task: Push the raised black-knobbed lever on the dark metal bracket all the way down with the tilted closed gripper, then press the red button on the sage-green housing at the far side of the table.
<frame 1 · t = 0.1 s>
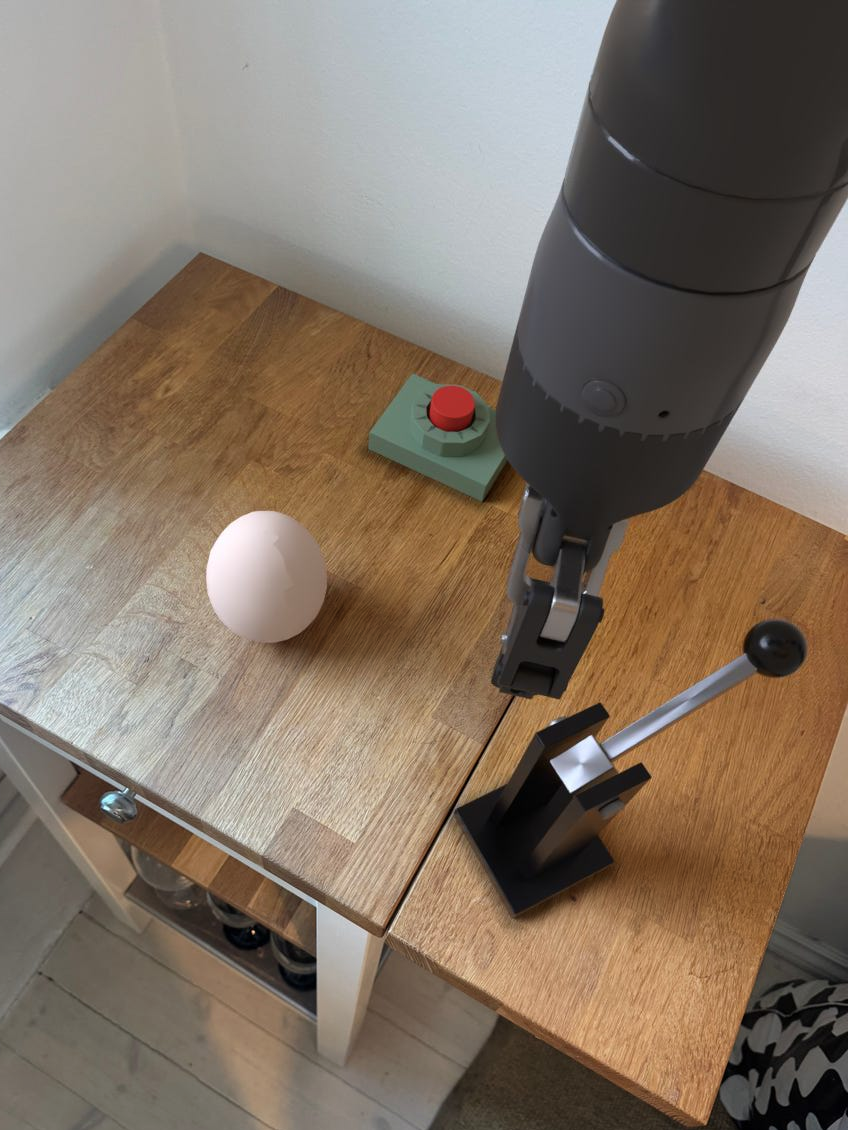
hand: (529, 605, 43), 26 cm above the table, tool pointing down, fingers open, 8 cm apart
button box: (444, 444, 81), on the table
egg: (269, 618, 72), on the table
lever: (679, 707, 51), point 17 cm above the table, hinge at 28.0°
bracket: (530, 840, 64), on the table
button: (451, 408, 77), point 4 cm above the table, slide at 0.1 cm
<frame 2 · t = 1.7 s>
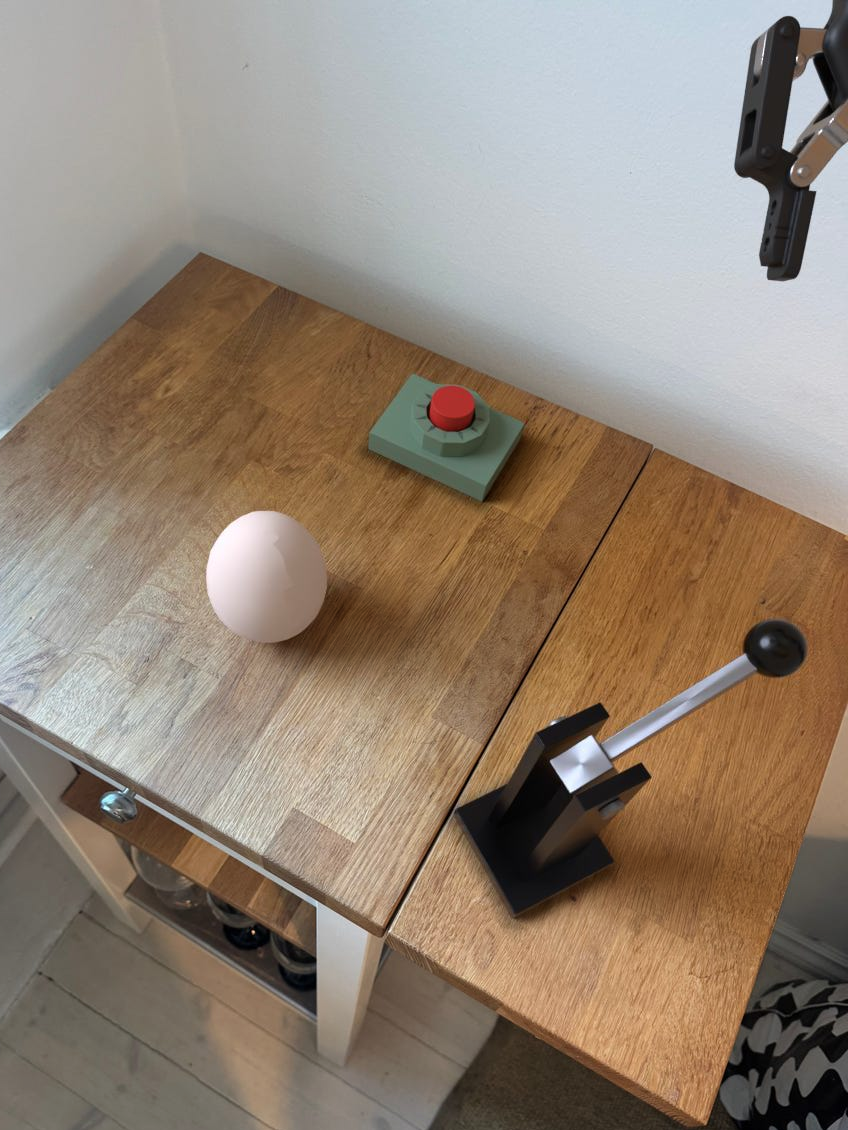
nothing on the table moved.
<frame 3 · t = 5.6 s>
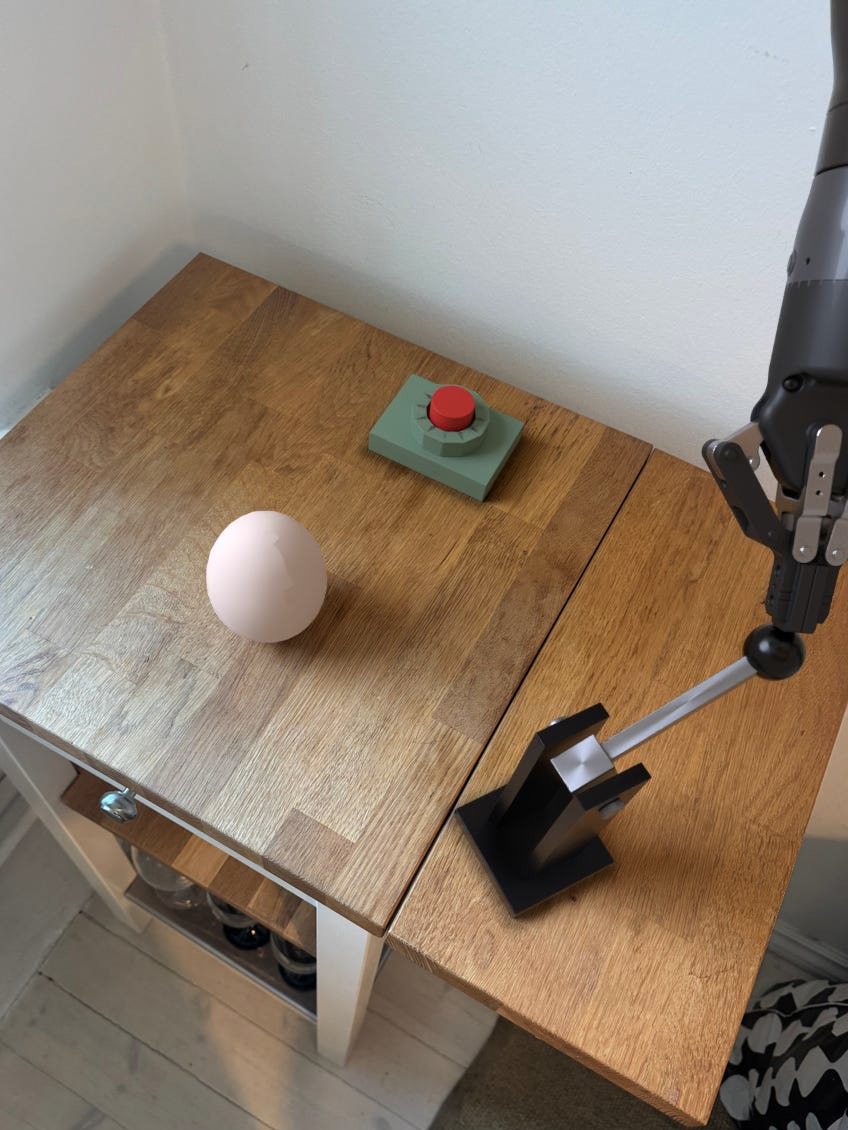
hand: (792, 629, 49), 21 cm above the table, tool tilted 45°, fingers closed
lever: (679, 709, 51), point 17 cm above the table, hinge at 24.5°, touching gripper
everything else where it was.
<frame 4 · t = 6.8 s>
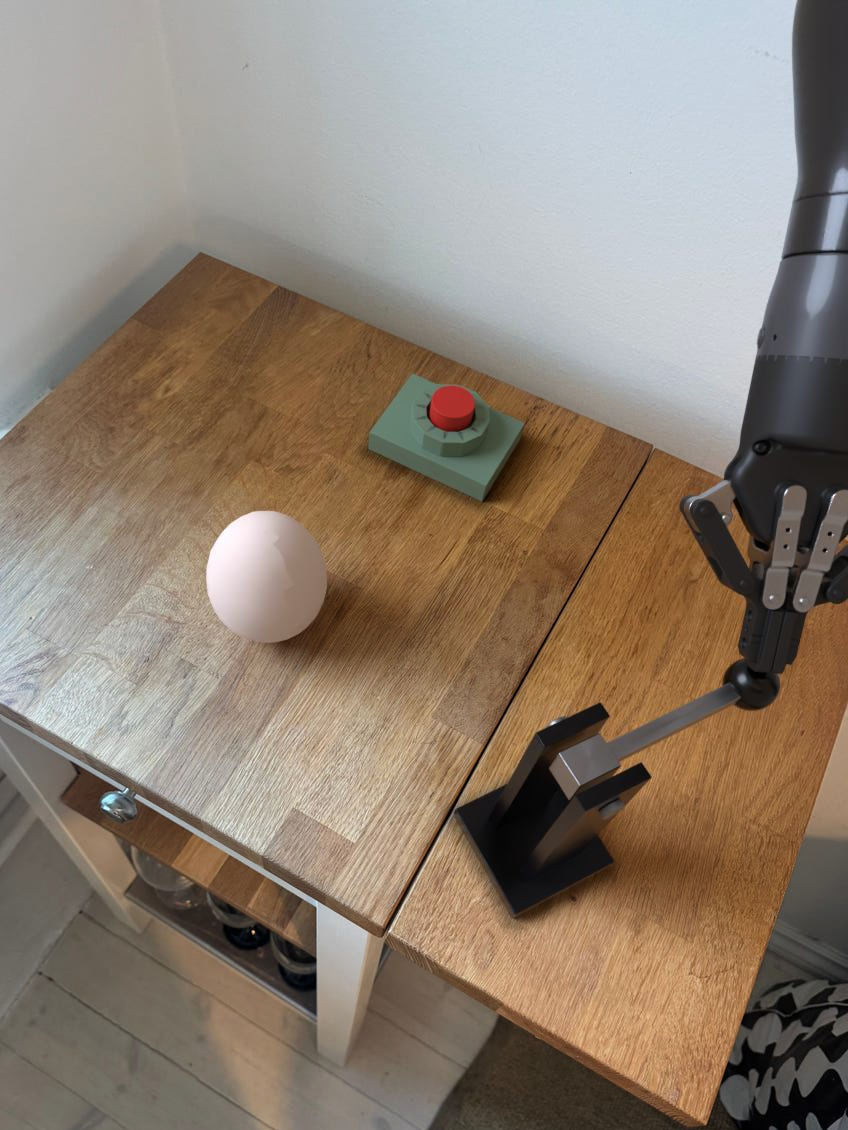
hand: (763, 668, 53), 16 cm above the table, tool tilted 45°, fingers closed
lever: (671, 723, 54), point 14 cm above the table, hinge at 0.2°, touching gripper
everything else where it was.
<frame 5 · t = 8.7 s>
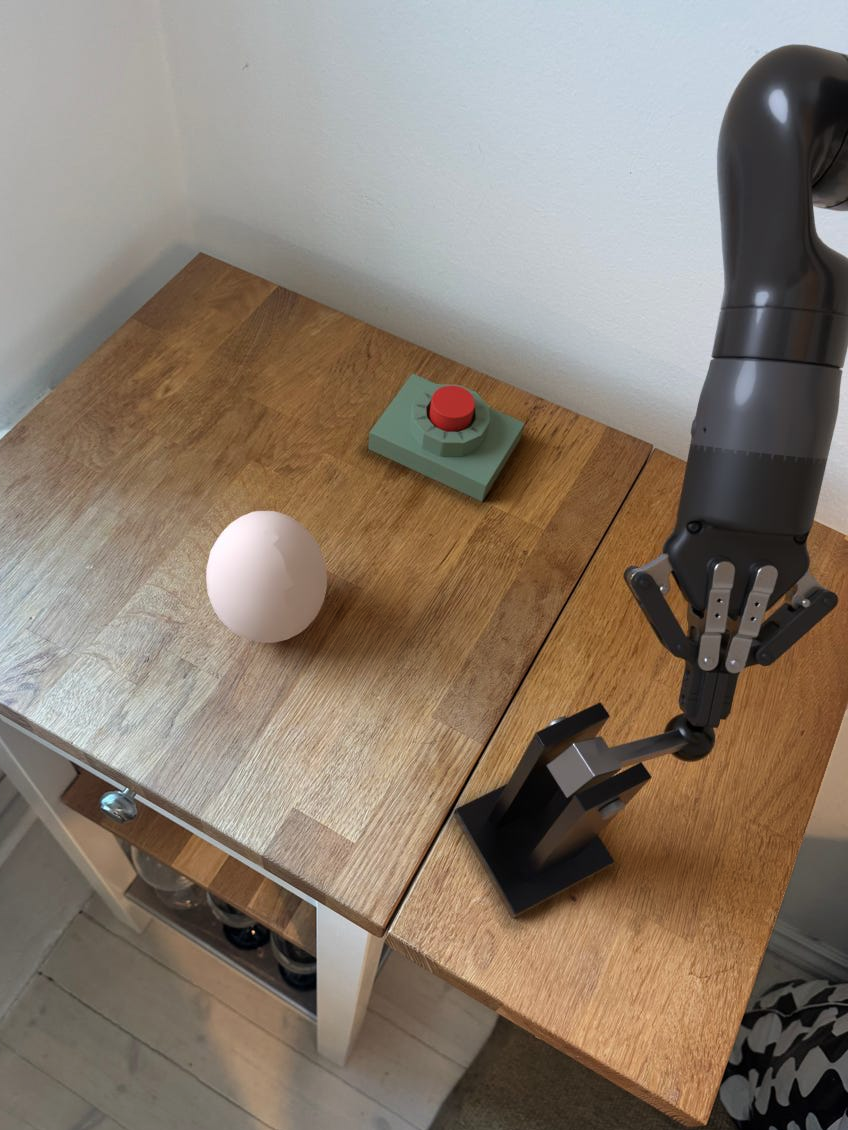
hand: (701, 722, 59), 10 cm above the table, tool tilted 45°, fingers closed
lever: (641, 750, 56), point 11 cm above the table, hinge at -31.3°, touching gripper
everything else where it was.
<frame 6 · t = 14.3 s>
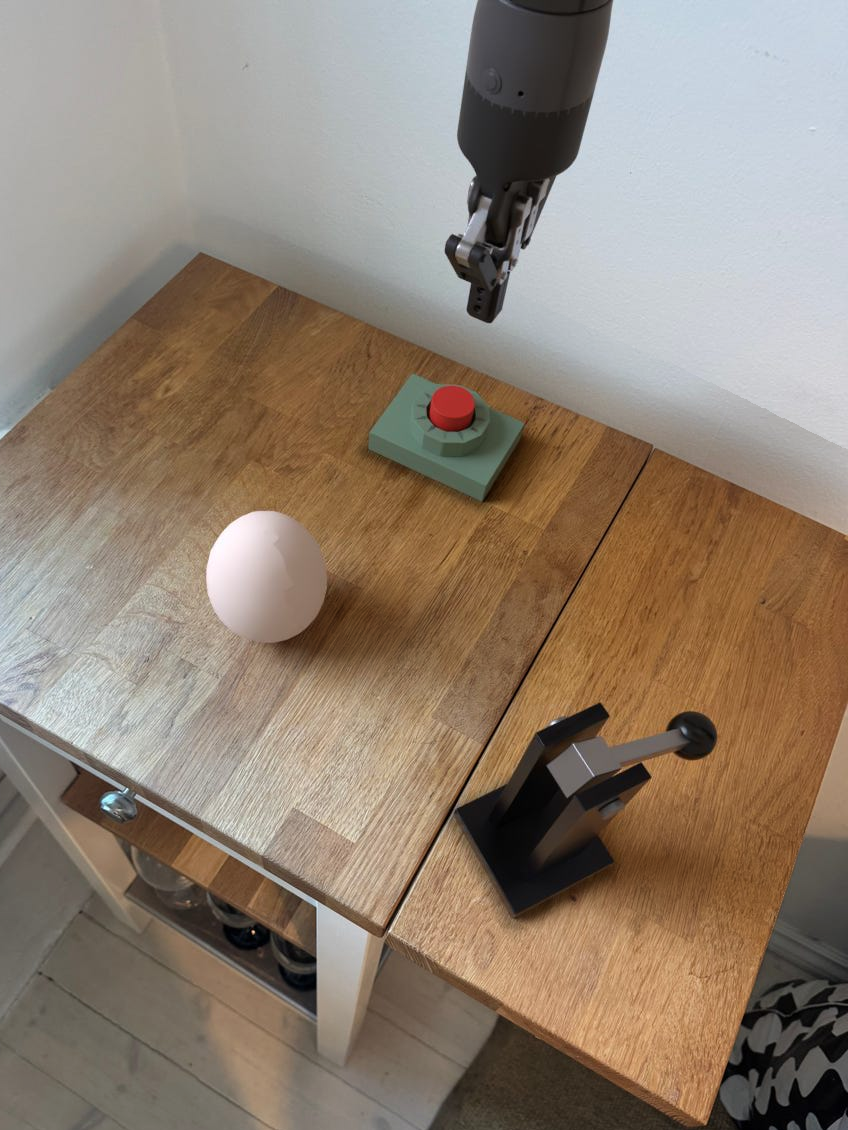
hand: (483, 313, 68), 15 cm above the table, tool pointing down, fingers closed
lever: (642, 749, 56), point 11 cm above the table, hinge at -30.5°
everything else where it was.
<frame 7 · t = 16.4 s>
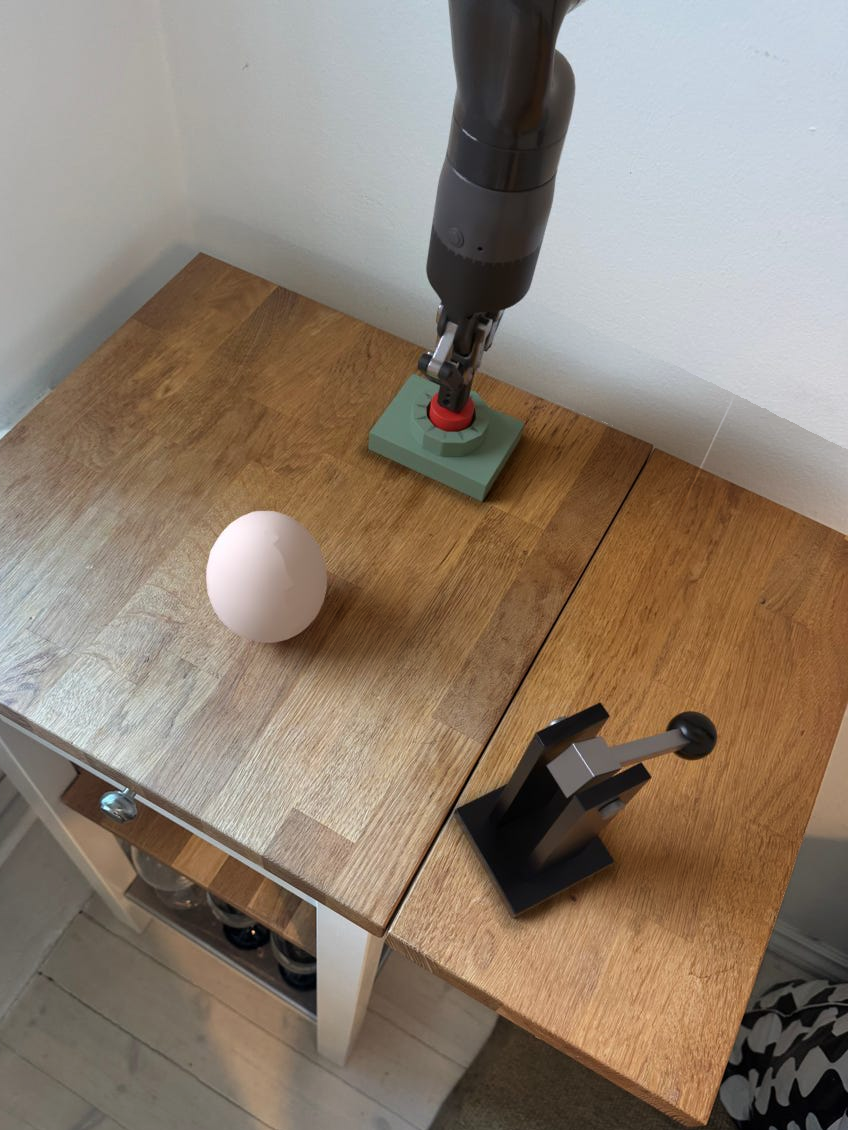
hand: (452, 403, 77), 5 cm above the table, tool pointing down, fingers closed
button: (451, 411, 77), point 4 cm above the table, slide at -0.3 cm, touching gripper
everything else where it was.
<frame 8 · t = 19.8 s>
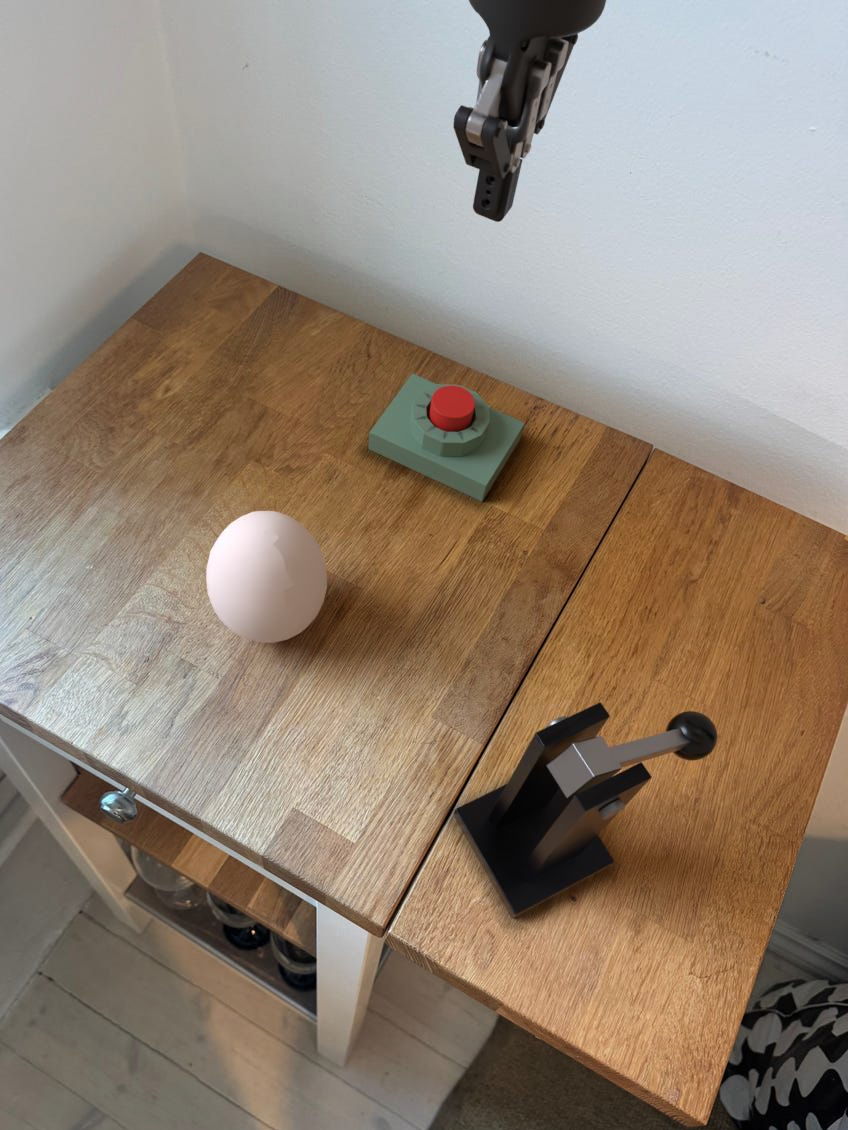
hand: (491, 211, 61), 23 cm above the table, tool pointing down, fingers closed
button: (451, 408, 77), point 4 cm above the table, slide at 0.1 cm
everything else where it was.
at the end: lever at -30° (first picture: +28°); button pushed in 1.0 cm at the most during the clip, back to where it started at the end; button slide at 0.1 cm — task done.
